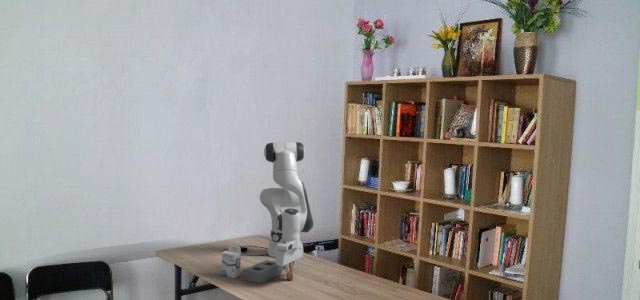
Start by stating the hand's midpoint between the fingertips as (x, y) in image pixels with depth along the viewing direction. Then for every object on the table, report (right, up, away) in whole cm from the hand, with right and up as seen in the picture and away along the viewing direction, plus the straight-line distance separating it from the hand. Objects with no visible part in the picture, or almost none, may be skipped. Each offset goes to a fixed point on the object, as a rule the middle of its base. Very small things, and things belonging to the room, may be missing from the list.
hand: (289, 270), depth 230 cm
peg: (0, -4, 0) cm, 4 cm away
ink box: (-30, -4, +4) cm, 30 cm away
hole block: (-13, -4, +5) cm, 15 cm away
